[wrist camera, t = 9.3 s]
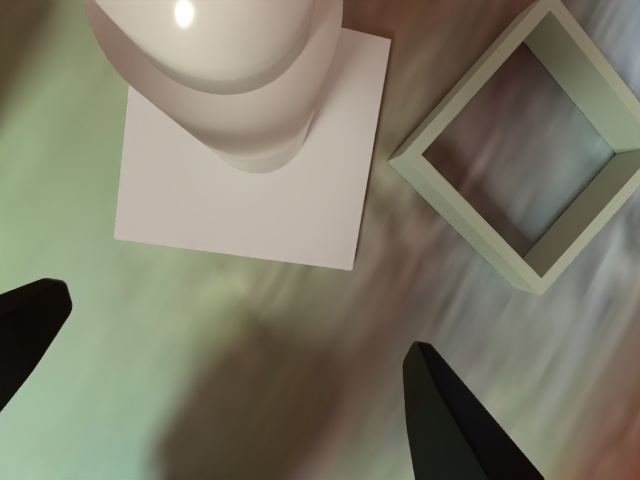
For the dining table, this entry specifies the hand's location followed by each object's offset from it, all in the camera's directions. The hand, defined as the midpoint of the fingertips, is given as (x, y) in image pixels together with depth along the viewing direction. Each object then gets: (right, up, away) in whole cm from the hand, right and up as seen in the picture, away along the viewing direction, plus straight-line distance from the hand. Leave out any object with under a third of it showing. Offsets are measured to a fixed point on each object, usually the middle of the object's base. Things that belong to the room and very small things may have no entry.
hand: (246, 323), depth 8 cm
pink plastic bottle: (-2, +9, +10) cm, 13 cm away
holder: (+15, +8, +13) cm, 21 cm away
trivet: (-2, +8, +11) cm, 14 cm away
